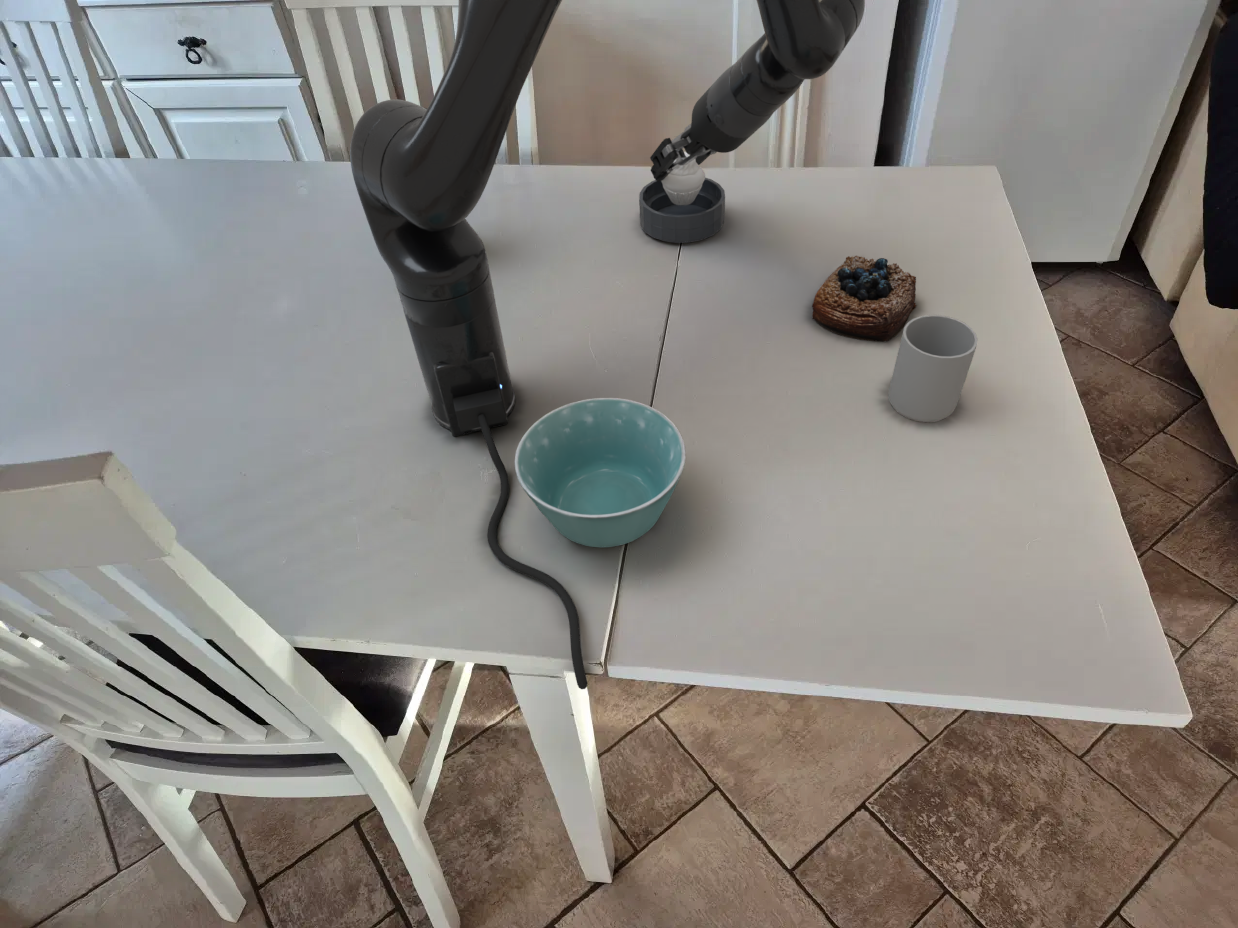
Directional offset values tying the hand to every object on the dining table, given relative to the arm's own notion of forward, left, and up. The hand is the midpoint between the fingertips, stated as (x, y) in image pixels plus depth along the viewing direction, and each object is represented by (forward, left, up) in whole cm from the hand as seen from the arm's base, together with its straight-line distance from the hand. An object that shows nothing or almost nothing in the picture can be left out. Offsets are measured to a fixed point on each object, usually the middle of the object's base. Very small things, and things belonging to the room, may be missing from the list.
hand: (674, 167), depth 113 cm
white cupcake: (-2, -1, -4) cm, 5 cm away
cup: (-46, -14, -8) cm, 48 cm away
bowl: (-51, +24, -8) cm, 57 cm away
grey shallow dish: (-2, -1, -8) cm, 8 cm away
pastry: (-30, -15, -8) cm, 34 cm away
